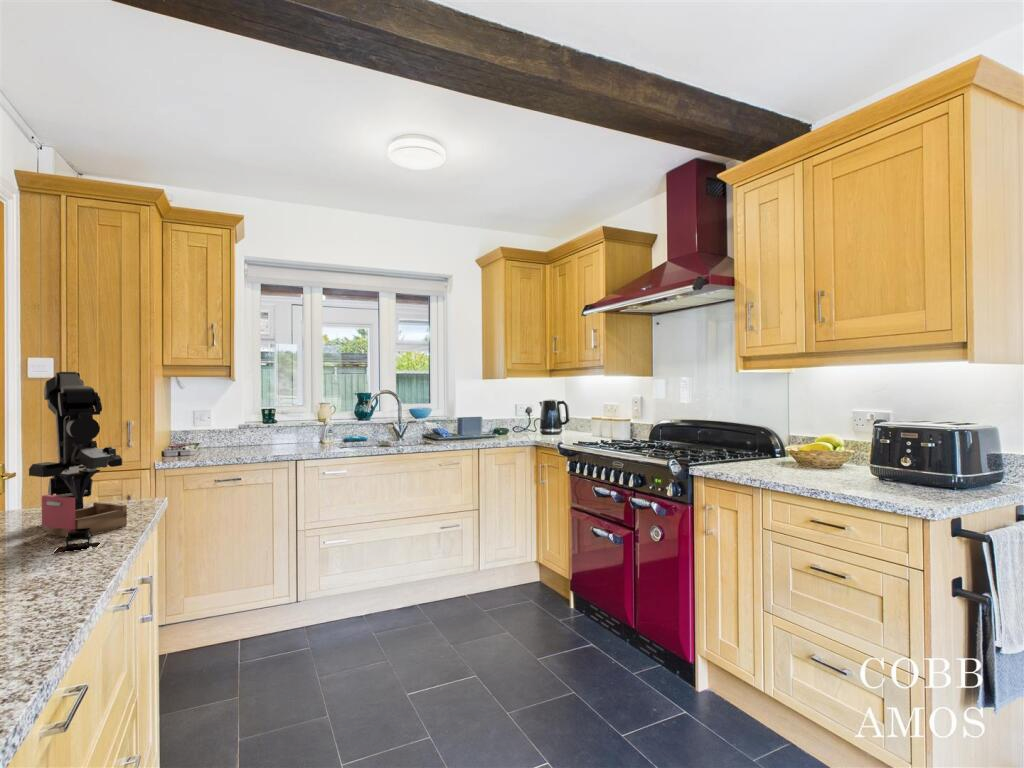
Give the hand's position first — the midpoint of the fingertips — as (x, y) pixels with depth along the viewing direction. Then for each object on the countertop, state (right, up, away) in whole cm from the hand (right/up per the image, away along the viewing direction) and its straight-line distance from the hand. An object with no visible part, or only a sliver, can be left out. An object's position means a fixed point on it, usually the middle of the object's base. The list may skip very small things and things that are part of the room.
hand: (78, 498), depth 138 cm
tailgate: (-1, -6, -4) cm, 7 cm away
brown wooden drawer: (+1, -8, +2) cm, 9 cm away
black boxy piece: (+10, -10, -12) cm, 18 cm away
